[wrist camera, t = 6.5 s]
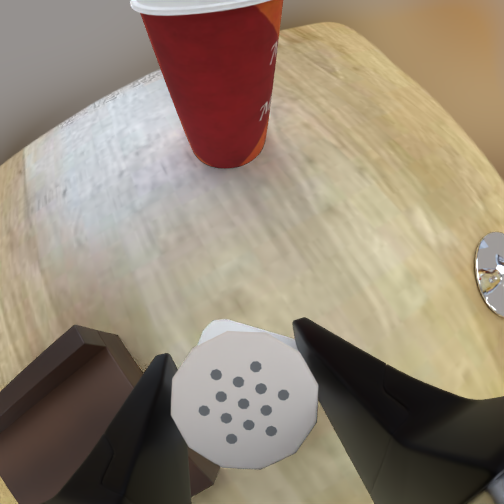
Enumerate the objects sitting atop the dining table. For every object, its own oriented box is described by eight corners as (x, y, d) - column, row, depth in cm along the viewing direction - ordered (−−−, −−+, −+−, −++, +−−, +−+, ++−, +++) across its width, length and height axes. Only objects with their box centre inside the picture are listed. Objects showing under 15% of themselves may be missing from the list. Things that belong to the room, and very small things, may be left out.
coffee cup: (300, 148, 23) (329, -32, 9) (210, 201, 22) (159, 3, 8) (241, 92, 26) (232, -59, 12) (160, 133, 24) (106, -23, 10)
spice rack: (220, 467, 16) (208, 502, 11) (74, 538, 13) (41, 563, 7) (117, 334, 19) (74, 323, 14) (-1, 430, 16) (-44, 435, 10)
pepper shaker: (277, 425, 14) (304, 503, 5) (202, 402, 14) (131, 448, 5) (300, 352, 15) (359, 338, 6) (226, 330, 16) (184, 287, 7)
